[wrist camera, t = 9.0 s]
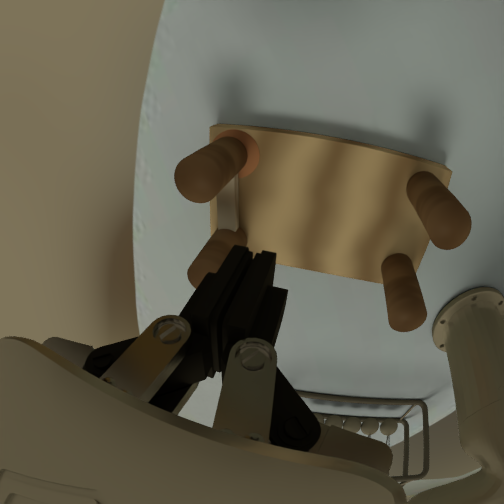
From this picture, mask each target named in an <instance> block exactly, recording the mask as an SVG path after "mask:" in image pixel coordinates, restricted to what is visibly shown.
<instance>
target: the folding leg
mask: <svg viewBox="0 0 504 504" xmlns="http://www.w3.org/2000/svg"><path fill="white" fill-rule="evenodd" d="M247 157H248V155H247V150H246V148H245V146H244V144H243V143H242V142H241V141H240V140H238V139H236V138H234V137H229V136H226V137H222V138H219V139H217V140H216V141H214V142H212V143H210V144H208V145H207V146H205V147H203V148H201V149H200V150H198V151H196V152H194V153H193V154H191V155H189V156H187V157H186V158H184V159H183V160H181V161H180V162H179V164H178V165H177V167H176V169H175V174H174V179H175V184H176V186H177V188H178V190H179V192H180V193H181V194H182V195H183V196H184V197H185V198H186V199H188V200H190V201H192V202H195V203H205V202H208V201H210V200H212V199H213V198H214V197H215V196H216V198H217V216H218V228H217V229H216V231H215V232H214V234H213V235H212V236H211V238H210V239H209V240H208V242H207V243H206V245H205V246H204V247H203V249H202V250H201V251H200V253H199V254H198V256H197V257H196V258H195V260H194V261H193V263H192V264H191V266H190V267H189V269H188V272H187V275H188V279H189V281H190V283H191V284H192V285H193V287H194V288H196V289H197V287H198V286H199V284H200V283H201V281H202V280H203V278H204V277H205V275H206V274H207V273H208V272H212V273H216V272H217V271H218V269H219V268H220V266H221V265H222V263H223V261H224V260H225V258H226V257H227V255H228V254H229V252H230V250H231V249H232V247H233V246H234V245H240V246H245V247H246V246H247V236H246V233H245V232H244V231H243V229H241V228H240V227H239V197H238V173H239V171H240V170H241V169H242V168H243V167H244V166H245V164H246V162H247Z"/></svg>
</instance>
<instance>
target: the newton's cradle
mask: <svg viewBox="0 0 504 504" xmlns="http://www.w3.org/2000/svg"><path fill="white" fill-rule="evenodd" d="M296 392H297V393H298V395H299V396H300V397H305V398H313V399H321V400H330V401H339V402H351V403H365V404H386V405H413V406H412V407H411V408H410V409H409V410H408V411H407V412H406V413H405V414H404V416H403V417H402V418H371V417H353V416H340V415H330V414H321V413H313V414H314V415H315V416H316V418H317V419H318V421H319V422H320V423H323V424H325V425H328V426H331V425H334V426H337V427H340V428H342V426H343V429H345V430H348V431H351V432H354V433H356V432H358V431H359V430H360V428H361V430H362V432H363V433H364V434H366V435H368V437H369V435H372V434H374V433H375V432H376V431H377V430H378V428H379V423H381V425H380V431H381V433H382V434H384V435H387V440H388V436H389V435H391V434H393V433H394V432H395V431H396V430H397V427H398V424H397V423H402V424H403V425H404V461H403V476H393V477H391V478H393V479H394V480H396V481H397V482H401V483H399V484H400V485H401V486H402V487H403V486H404V485H405V484H406V483H408V482H411V481H413V480H419V479H422V478H423V477H425V475H426V474H427V473H428V470H429V424H428V409H427V405H426V404H425V403H424V402H423V401H422V400H401V399H373V398H358V397H346V396H335V395H326V394H318V393H310V392H303V391H296ZM415 405H419V406H421V408H422V412H423V436H424V462H423V471H422V473H421V474H418V475H408V461H409V424H408V422H407V421H406V420H405V419H403V418H404V417H405V416H406V415H407V414H408V413H409V412H410V411H411V409H412V408H413V407H414V406H415ZM324 419H326V421H325V423H324ZM343 421H344V423H343ZM361 422H363V423H362V424H361ZM378 422H379V423H378ZM386 444H387V441H386ZM388 476H389V473H388Z"/></svg>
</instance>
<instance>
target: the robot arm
mask: <svg viewBox="0 0 504 504" xmlns="http://www.w3.org/2000/svg"><path fill="white" fill-rule="evenodd" d="M276 256H277V253H275V252H270V251H265V250H262V252H261V253H256V254H255V256H254V258H253V252H251V251H249V248H248V247H245V246H240V245H234V246H233V247H232V249H231V250H230V252H229V254H228V255H227V257H226V258H225V260H224V261H223V263H222V265H221V266H220V268H219V269H218V271H217V272H216V273H212V272H208V273H207V274H206V275H205V277H204V278H203V280H202V281H201V283H200V284H199V286H198V287H197V289H196V290H195V292H194V293H193V295H192V296H191V298H190V299H189V301H188V302H187V304H186V305H185V307H184V308H183V310H182V312H181V313H180V315H179V316H176V315H166V316H162V317H160V318H157V319H156V320H155V321H153V322H152V323H151V324H150V325H149V326H148V327H147V328H146V330H145V331H144V332H143V333H142V334H141V335H140V336H139V337H135V338H132V339H128V340H124V341H121V342H117V343H114V344H110V345H106V346H102V347H100V348H97V349H94V348H93V346H89V345H85V344H81V343H77V342H74V341H70V340H66V339H62V338H59V337H52V338H48V339H47V340H46V341H44V343H43V344H40V343H38V342H36V341H34V340H31V339H27V338H23V337H16V336H13V337H12V336H9V337H4V338H1V339H0V504H504V297H503V296H502V294H501V293H500V292H499V291H498V290H496V289H494V288H490V287H480V288H475V289H472V290H469V291H467V292H465V293H463V294H461V295H459V296H458V297H456V298H455V299H453V300H452V301H451V302H450V303H448V304H447V305H446V306H445V307H444V308H443V309H442V311H441V312H440V313H439V315H438V316H437V318H436V319H435V322H434V324H433V328H432V337H433V341H434V343H435V345H436V347H437V348H438V349H440V350H442V351H444V352H446V353H447V357H448V362H449V367H450V372H451V378H452V383H453V390H454V396H455V403H456V411H457V420H458V429H459V440H460V444H461V447H462V449H463V450H464V452H465V453H466V454H467V455H469V456H470V457H471V458H473V459H474V460H476V461H477V462H478V463H479V464H480V465H481V467H482V469H481V470H480V471H479V472H477V473H474V474H472V475H470V476H468V477H465V478H463V479H460V480H457V481H454V482H451V483H448V484H444V485H441V486H438V487H435V488H431V489H428V490H425V491H423V492H420V493H418V494H417V495H415V496H414V497H412V498H411V499H410V500H409V501H408V502H407V499H406V494H405V492H404V489H403V488H402V486H401V485H400V484H399V483H398V482H397V481H396V480H394V479H393V478H391V477H390V476H388V473H389V470H390V467H391V464H392V460H393V454H392V451H391V449H390V447H389V446H388V445H387V444H385V443H383V442H381V441H378V440H375V439H372V438H369V437H365V436H362V435H359V434H357V433H354V432H351V431H348V430H345V429H342V428H340V427H337V426H334V425H331V426H328V425H325V424H323V423H320V422H319V421H318V419H317V418H316V416H315V415H314V414H313V413H312V411H311V410H310V409H309V408H308V406H307V405H306V404H305V402H304V401H303V400H302V399H301V397H300V396H299V395H298V393H297V392H296V391H295V390H294V388H293V387H292V386H291V384H290V383H289V382H288V380H287V379H286V378H285V376H284V375H283V374H282V372H281V371H280V370H279V368H278V367H277V353H276V351H275V349H274V346H275V343H276V339H277V336H278V332H279V329H280V325H281V322H282V318H283V314H284V310H285V305H286V300H287V294H288V290H287V289H282V288H278V287H273V280H274V272H275V264H276ZM216 371H217V372H221V371H222V388H221V393H220V397H219V401H218V406H217V410H216V414H215V419H214V423H213V427H212V428H211V427H208V426H205V425H202V424H199V423H196V422H193V421H191V420H188V419H185V418H183V417H180V416H178V413H179V412H180V411H181V409H182V408H183V406H184V405H185V404H186V402H187V401H188V400H189V398H190V397H191V395H192V394H193V392H194V391H195V390H196V388H197V386H198V384H199V382H200V381H203V380H205V379H206V378H207V376H208V377H211V378H213V377H214V375H215V373H216Z"/></svg>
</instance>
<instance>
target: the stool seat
mask: <svg viewBox="0 0 504 504" xmlns="http://www.w3.org/2000/svg"><path fill="white" fill-rule="evenodd" d="M226 136H229V137H234V138H236V139H238V140H240V141H241V142H242V143H243V144H244V146H245V148H246V150H247V155H248V157H247V162H246V164H245V166H244V167H243V168H242V169H241V170H240V171H239V173H238V197H239V227H240V228H241V229H243V231H244V232H245V233H246V236H247V246H246V247H248V248H249V251H251V252H253V258H254V256H255V254H256V253H261V252H262V250H265V251H270V252H275V253H277V256H276V264H281V265H286V266H291V267H296V268H301V269H307V270H312V271H317V272H322V273H328V274H333V275H338V276H343V277H349V278H354V279H359V280H365V281H370V282H375V283H381V284H383V285H384V291H385V298H386V305H387V312H388V320H389V325H390V327H391V328H392V329H394V330H396V331H399V332H408V331H412V330H414V329H417V328H418V327H420V326H421V325H422V324H423V323H424V321H425V320H426V317H427V311H426V307H425V303H424V300H423V296H422V292H421V289H420V286H419V282H418V279H417V276H416V272H417V269H418V267H419V265H420V262H421V260H422V258H423V255H424V253H425V251H426V248H427V246H428V243H429V241H430V239H431V241H432V243H433V244H434V245H435V246H436V247H438V248H440V249H444V250H450V249H454V248H456V247H458V246H460V245H461V244H462V243H463V242H464V241H465V240H466V239H467V237H468V235H469V233H470V230H471V217H470V215H469V213H468V211H467V210H466V209H465V208H464V207H463V205H462V204H461V203H460V202H459V201H458V200H457V199H456V197H455V196H454V195H453V194H452V193H451V192H450V191H449V190H448V189H447V188H448V185H449V182H450V178H451V175H452V171H451V170H450V169H448V168H447V167H446V166H445V165H442V164H439V163H436V162H432V161H429V160H426V159H423V158H419V157H416V156H412V155H409V154H405V153H402V152H398V151H394V150H390V149H386V148H382V147H378V146H374V145H369V144H365V143H360V142H356V141H351V140H346V139H341V138H336V137H330V136H324V135H318V134H312V133H306V132H299V131H291V130H284V129H275V128H266V127H256V126H245V125H231V124H216V125H213V126H211V127H210V143H212V142H214V141H216V140H217V139H219V138H222V137H226ZM210 223H211V236H212V235H213V234H214V232H215V231H216V229H217V228H218V216H217V198H216V196H215V197H214V198H213V199H212V200H210Z"/></svg>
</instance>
